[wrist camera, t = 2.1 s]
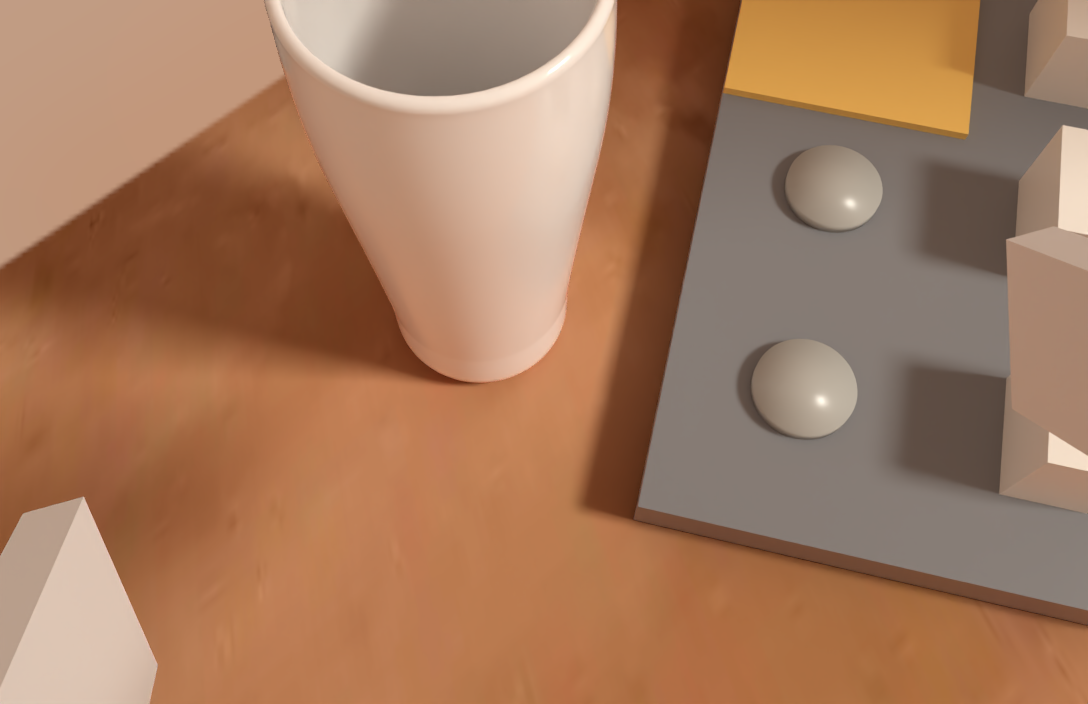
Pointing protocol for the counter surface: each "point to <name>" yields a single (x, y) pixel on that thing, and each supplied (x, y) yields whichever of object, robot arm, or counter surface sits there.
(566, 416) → the counter surface
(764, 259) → the game board
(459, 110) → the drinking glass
